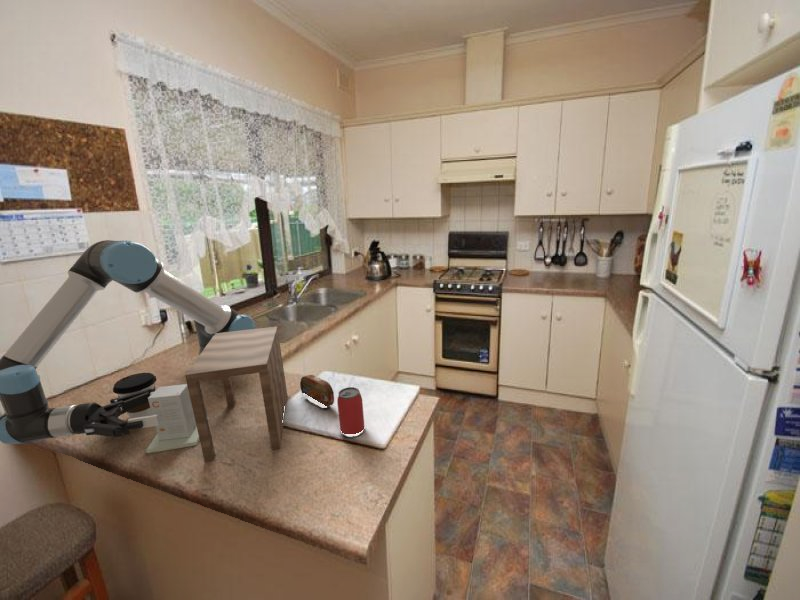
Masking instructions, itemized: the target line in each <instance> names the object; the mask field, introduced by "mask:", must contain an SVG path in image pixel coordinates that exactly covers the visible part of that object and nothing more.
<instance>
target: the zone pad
mask: <svg viewBox="0 0 800 600" xmlns="http://www.w3.org/2000/svg"><path fill="white" fill-rule="evenodd" d="M207 419H208V422H209V420H210V417H209V416H207ZM199 443H200V439H199V435H198V430H197V427H196V428H195V430H194V431H193V433H192V434H191V436H190V437H184V438H175V439H167V440H159V438H158V434H157V433H156V435H155V436H154V437H153V439H152V441H151V442H150V444H149V445H148V447H146V454H150V453H151V454H152V453H153V454H154V453H157V452H165V451H169V450H176V449H181V448H187V447H193V446H194V447H195V446H197V445H198V444H199Z"/></svg>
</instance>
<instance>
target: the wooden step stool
mask: <svg viewBox="0 0 800 600" xmlns="http://www.w3.org/2000/svg"><path fill="white" fill-rule="evenodd" d="M198 355H199V354H198ZM283 363H284V362H283V357H282V349H281V343H280V336H279V329H278V326H269V327H262V328H261V327H259V328H255V329H250V330H241V331H233V332H224V333H215V335H214V336H213V337H212V339H211V340H210V341H209V343H208V344H207V346H206V347H205V348H204V350H203V351H202V352H201V354H200V355H199V356H197V357H196V359H195V360H194V361H193V363H192V365H191V366H190V367H189V369H188V370H186V372H185V374H184V377H185V381H186V384H187V387H188V391H189V395H190V400H191V404H192V408H193V413H194V417H195V422H196V426H197V430H198V435H199V439H200V440H199V443H200V448H201V452H202V456H203V460H204V463H208V462H213V461H214V460H215V458H216V453H215V452H216V451H215V447H214V442H213V439H212V434H211V430H210V429H211V428H210V425H209V421H208V419H207V417H208V416H207V415H208V414H207V409H206V407H205V406H206V405H205V403H204V397H203V393H202V392H203V391H202V386H201V383H200V382H201V381H202V382H203V381H208V380H215V379H222V385H223V389H224V395H225V400H226V405H227V408H231V407H235V406H236V403H237V402H236V396H235V391H234V386H233V382H232V381H233V380H232V377H237V376H244V375H251V374H258V375H259V381H260V387H261V393H262V399H263V400H262V401H263V405H264V410H265V418H266V424H267V430H268V435H269V441H270V447H271V451H275V450H280V449H281V444H282V437H283V428H284V423H282V420H283V413H284V406H285V404H286V405H287V398H288V391H287V390H288V389H287V384H286V383H287V382H286V377H285V370H284V364H283Z"/></svg>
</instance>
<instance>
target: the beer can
mask: <svg viewBox="0 0 800 600" xmlns="http://www.w3.org/2000/svg"><path fill="white" fill-rule="evenodd" d="M337 394H338V396H337V400H336V403H337V410H338V411H337V412H338V420H339V421H338V422H339V430H341V431H342V433H344V434H356V433H359V432H361V431H362V430H363V429H364V427H365V417H364V407H363V406H364V405H363V398H362V394H361V393H360V389H359V388H357V387H354V386H352V387H351V386H348V387H345V388H342V389H340V390H339V392H338V393H337ZM364 430H365V429H364ZM341 431H340V432H341Z"/></svg>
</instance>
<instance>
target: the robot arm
mask: <svg viewBox="0 0 800 600" xmlns="http://www.w3.org/2000/svg"><path fill="white" fill-rule="evenodd" d="M67 275H68V277H67V279H65V281H64V282H63V284H62V285H61V286H60V287H59V288H58V289H57V290H56V292H55V293H54V294H53V296H52V297H51V298H50V299H49V300H48V302H47V303H46V304H45V305H44V306H43V308H42V309H41V310H40V311H39V312H38V313H37V314H36V316H35V317H34V318H33V319H32V321H30V323H29V324H28V326H26V328H25V329H24V331H22V332H21V334H20V335H19V336H18V337H17V338H16V340H15V341H14V342H13V343H12V344H11V346H10V347H9V348H8V350H7V351H6V352H5V353H4V354H3V355H2V357H0V403H1V406H2V408H3V411H4V412H5V413H4V414H5V416H4V417H2V418H1V419H0V442H1V443H3V444H5V445H16V444H29V443H33V442H37V441H43V440H44V441H45V440H49V439H56V438H61V437H72V436H75V435H82V434H83V435H84V434H85V435H86V436H93V435H94V436H103V437H108V438H109V437H110V438H121V437H123V436H128V435H130V434H131V433H130V431H133V430H139V429H140V430H141V429H145V428H151V427H155V426H158V425H160V421H159V417H158V415H151V416H144V417H138V418H128V419H127V421H126V420H123V419H121V418H119V417H121V416H122V415H124V414H126V413H127V410H129V409H132V408H134V407H137V406H139V405H142V404H144V403H147V402H149V401H148V397H150V396H151V395H152V394H153V393H154V392H153V391H152V389H151V388H150V389H147V390H143V391H140V392H137V393H133V394H130V395H127V396H123V397H120V398H118V397H115V398H111V399H110V400H109V402H110V403H108V404H106V405H103V406H102V405H100V404H99V403H97V402H87V403H86V402H85V403H81V404H72V405H65V406H59V407H51V408H50V406H49V403H48V400H47V397H46V394H45V391H44V388H43V385H42V382H41V380H40V379H41V376H40V375H39V374H38V371H37V369H38V367H39V366H40V364H41V363H42V362H43V360H44V359H45V357H47V355H48V354H49V353H50V352H51V350H52V349H53V348H54V347H55V345H56V344H57V343H58V342H59V340H60V339H61V337H63V336H64V334H65V333H66V332H67V330H68V329H69V328H70V326H71V325H72V324H73V323H74V321H75V320H76V319H77V318H78V317H79V315H80V314H81V313H82V311H83V310H84V309H85V308H86V306H87V305H88V304H89V302H90V301H91V300H92V299H93V298H94V296H95V295H96V294H97V292H98V291H104V290H105V288H106V287H107V286H108V285H109V284H110V283H111V282H113V281H114V282H115V283H118V284H119V285H121V286H123V287H125V288H126V289H128V290H130V291H132V292H134V293H136V294H138V293H146V294H148V295H150V296H151V297H154V298H155V299H157V300H158V301H160V302H162V303H164V304H165V305H167V306H168V307H171V308H172V309H174V310H176V311H178V312H179V313H181V314H183V315H185V316H186V317H188V318H190V319H191V320H193V323H194V327H195V333H196V335H197V336H196V338H197V341H198V346H199V349H198V356H199V355H200V354H201V352H202V351H203V350H204V348H205V347H206V346H207V344H208V343H209V341H210V340H211V339H212V337H213V336H214V335H215V333H224V332H233V331H241V330H250V329H256V328H255V327H256V326H255V322H254V321H255V320H253V318H252V317H250V316H248V315H247V314H242V313H239V312H238V311H237V310H235V309H233V308H232V307H231V306H230V305H229V306H228V305H226V304H218V303H216V302H215V301H214V300H211V299H210V298H208V297H207V296H205V295H204V294H202V293H201V292H200V291H198V290H196V289H194V288H193V287H192V286H190V285H189V284H187V283H185V282H184V281H183V280H181V279H180V278H179V277H176V276H175V275H173V274H171V273H170V272H168V271H167V270H166V269H164V263H163V262H162V260H160V259H158V258H157V257H156V256H155V254H154V253H153V251H152V250H151V249H150V248H148V247H147V246H145V245H144V244H142V243H139V242H136V241H132V240H111V239H109V240H107V239H106V240H100V241H98V242H95V243H93V244H91V245H90V246H89V247H87V248H86V249H85V250H84V251H83V253H81V255H80V256H79V258H77V260H76V261H75V262H74V264H73V265H72V266H71V267H70V268H69V270H68V271H67ZM198 356H197V357H198Z"/></svg>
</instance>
